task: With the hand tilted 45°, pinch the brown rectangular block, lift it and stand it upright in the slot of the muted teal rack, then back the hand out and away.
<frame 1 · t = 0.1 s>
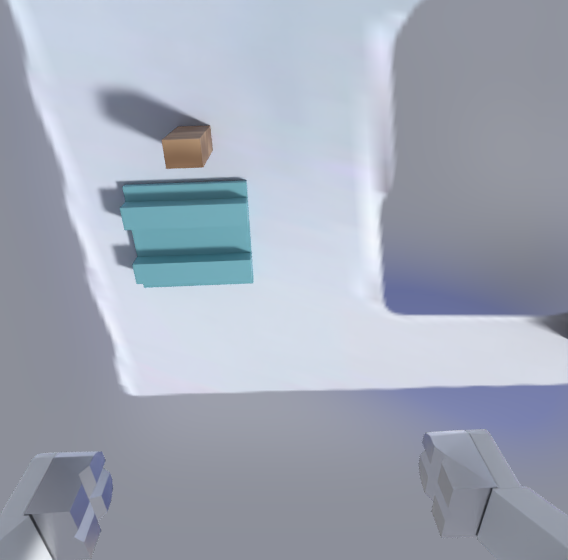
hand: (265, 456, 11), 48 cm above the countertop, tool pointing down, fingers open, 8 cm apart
slotted rack: (193, 235, 59), on the countertop
brown rectangular block: (195, 138, 53), on the countertop
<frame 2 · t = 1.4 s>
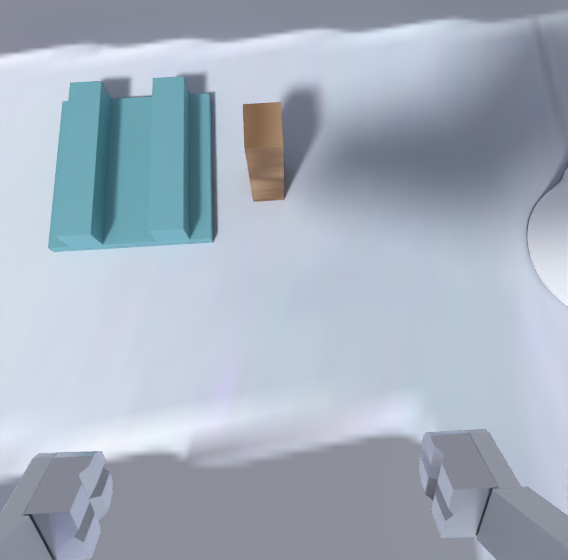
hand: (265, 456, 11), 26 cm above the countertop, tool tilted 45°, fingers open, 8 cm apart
slotted rack: (136, 171, 42), on the countertop
brown rectangular block: (267, 182, 42), on the countertop
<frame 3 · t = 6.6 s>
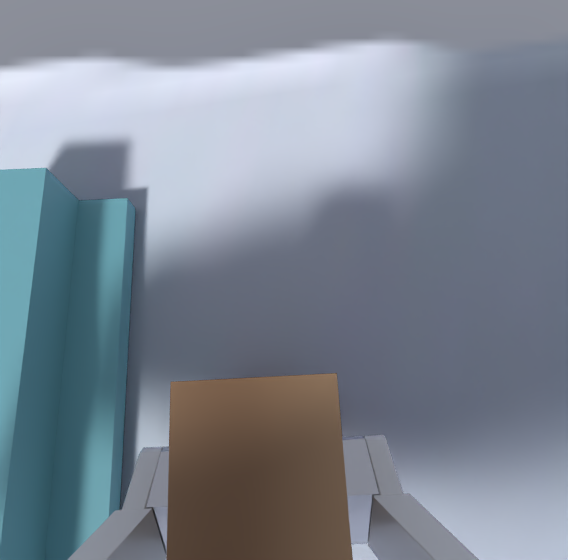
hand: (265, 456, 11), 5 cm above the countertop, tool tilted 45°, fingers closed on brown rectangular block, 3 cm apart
brown rectangular block: (271, 446, 16), on the countertop, touching gripper
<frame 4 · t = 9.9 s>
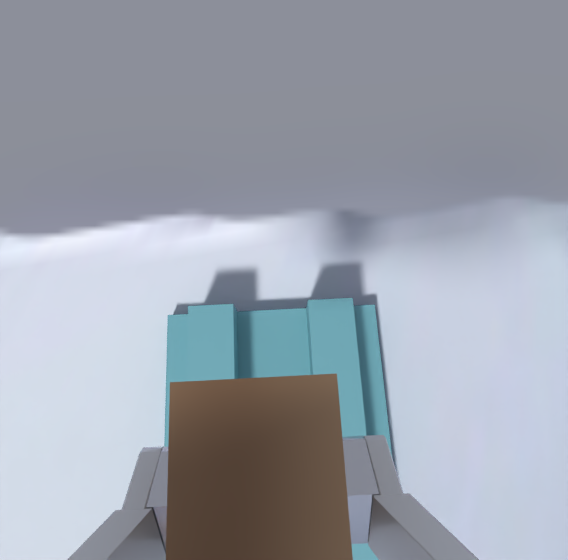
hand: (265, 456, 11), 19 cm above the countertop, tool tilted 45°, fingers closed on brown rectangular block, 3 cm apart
slotted rack: (277, 425, 29), on the countertop
brown rectangular block: (271, 446, 16), point 14 cm above the countertop, touching gripper
when the fingers open (8 cm above the countertop, at t = 13.2 s): brown rectangular block drops 1 cm, resting on slotted rack.
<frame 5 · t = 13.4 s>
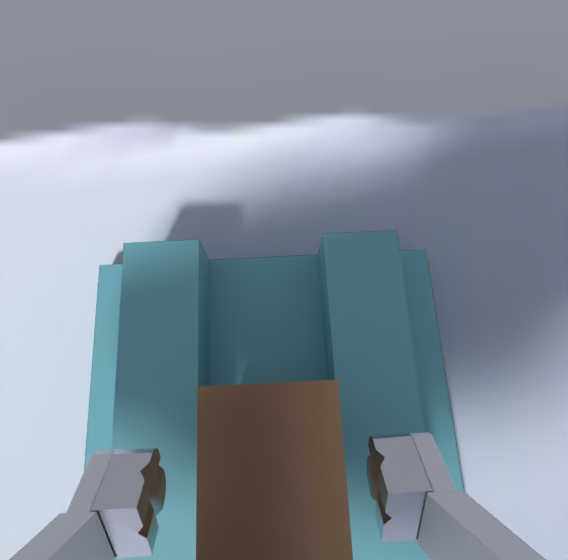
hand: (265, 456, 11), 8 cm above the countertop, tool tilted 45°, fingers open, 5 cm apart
slotted rack: (271, 440, 18), on the countertop
brown rectangular block: (273, 443, 17), point 1 cm above the countertop, touching slotted rack
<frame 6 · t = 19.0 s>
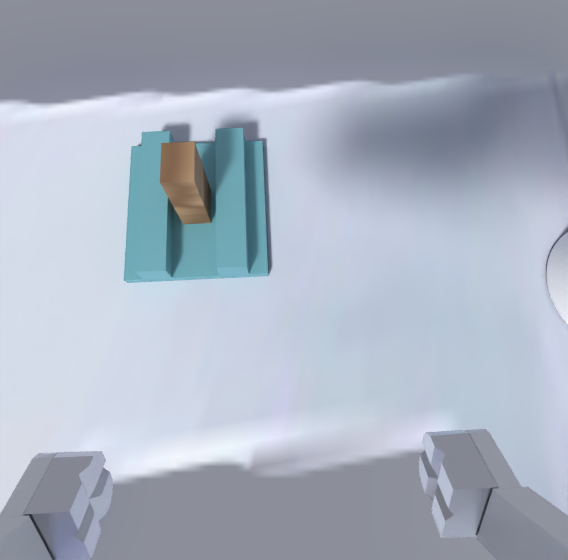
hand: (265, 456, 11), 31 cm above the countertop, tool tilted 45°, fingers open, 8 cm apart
slotted rack: (198, 210, 47), on the countertop
brown rectangular block: (197, 206, 46), point 1 cm above the countertop, touching slotted rack
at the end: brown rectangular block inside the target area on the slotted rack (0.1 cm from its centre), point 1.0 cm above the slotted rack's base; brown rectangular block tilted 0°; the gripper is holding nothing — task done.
